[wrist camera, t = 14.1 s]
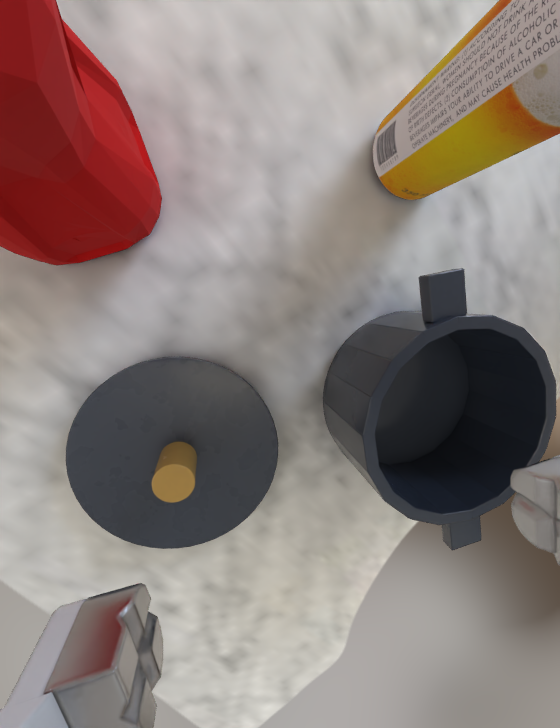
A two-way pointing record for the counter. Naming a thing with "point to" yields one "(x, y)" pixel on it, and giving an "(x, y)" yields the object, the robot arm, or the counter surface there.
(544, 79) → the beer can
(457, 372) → the pot
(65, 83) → the water bottle
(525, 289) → the counter surface
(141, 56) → the counter surface
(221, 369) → the pot lid
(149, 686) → the robot arm
